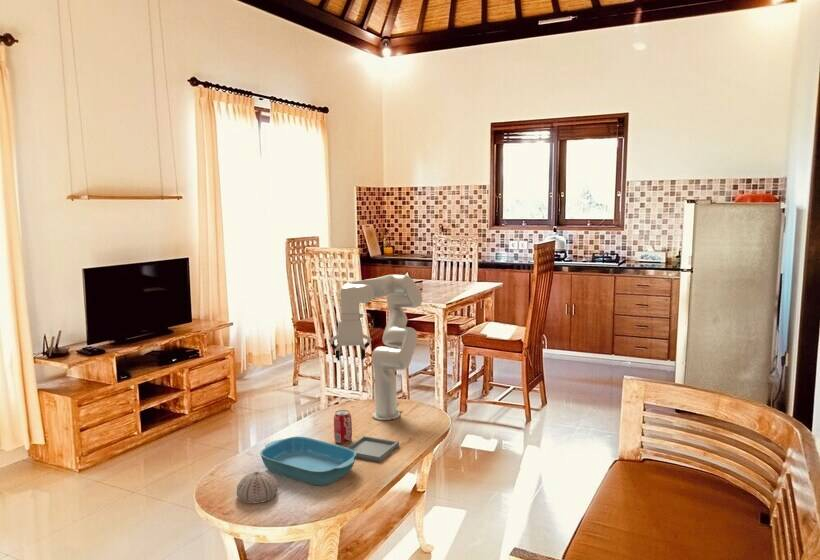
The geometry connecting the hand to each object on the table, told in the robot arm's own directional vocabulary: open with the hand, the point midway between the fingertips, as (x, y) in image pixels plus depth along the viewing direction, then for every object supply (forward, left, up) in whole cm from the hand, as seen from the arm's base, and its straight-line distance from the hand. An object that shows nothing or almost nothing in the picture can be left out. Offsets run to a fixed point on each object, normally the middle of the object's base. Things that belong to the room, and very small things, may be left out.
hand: (350, 359), depth 239 cm
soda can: (+5, -1, -33) cm, 33 cm away
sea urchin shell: (+56, -2, -33) cm, 65 cm away
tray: (+9, +14, -33) cm, 36 cm away
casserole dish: (+33, +2, -33) cm, 47 cm away
